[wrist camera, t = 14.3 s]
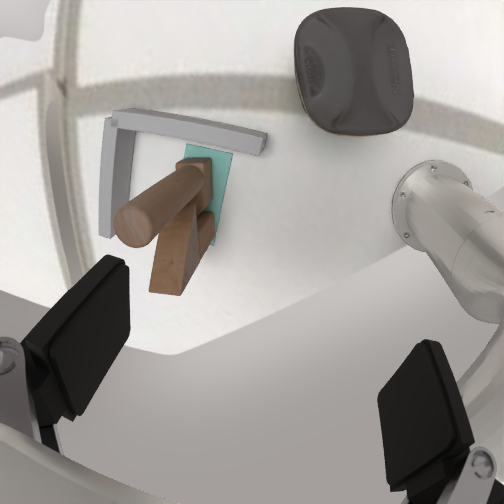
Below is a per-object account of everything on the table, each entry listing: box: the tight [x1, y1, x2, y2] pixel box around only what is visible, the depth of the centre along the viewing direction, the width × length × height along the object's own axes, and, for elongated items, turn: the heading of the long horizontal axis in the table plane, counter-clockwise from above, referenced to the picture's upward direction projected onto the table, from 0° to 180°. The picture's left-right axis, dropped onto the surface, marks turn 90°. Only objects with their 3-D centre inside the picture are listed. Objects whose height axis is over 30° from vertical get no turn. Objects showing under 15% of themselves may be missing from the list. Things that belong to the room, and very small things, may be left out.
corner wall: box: [99, 108, 267, 239], centre depth 37 cm, size 19×17×5 cm
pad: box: [184, 144, 233, 246], centre depth 39 cm, size 6×13×1 cm, turn 167°
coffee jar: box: [294, 7, 414, 137], centre depth 23 cm, size 10×8×19 cm
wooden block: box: [114, 157, 215, 296], centre depth 31 cm, size 4×11×18 cm, turn 0°
